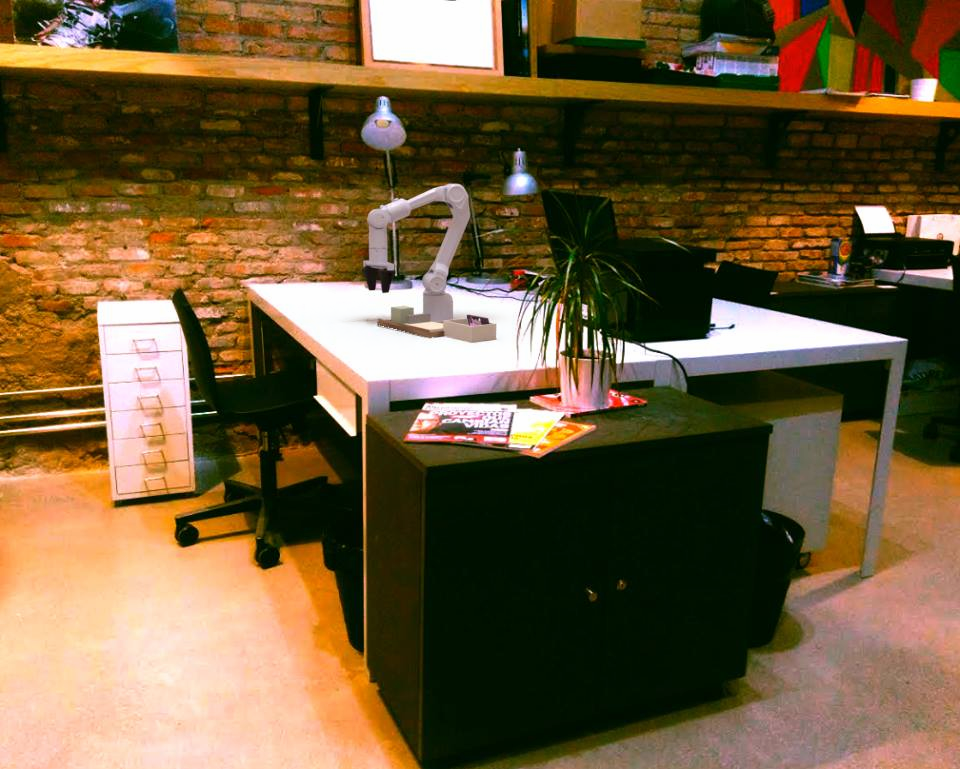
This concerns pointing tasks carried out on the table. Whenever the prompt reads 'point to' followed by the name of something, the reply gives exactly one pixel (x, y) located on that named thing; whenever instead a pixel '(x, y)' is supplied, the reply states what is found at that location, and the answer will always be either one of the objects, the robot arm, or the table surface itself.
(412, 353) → the table surface
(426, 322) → the lid
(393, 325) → the board
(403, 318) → the sage block
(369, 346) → the table surface
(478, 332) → the beige open box
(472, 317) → the black piece
